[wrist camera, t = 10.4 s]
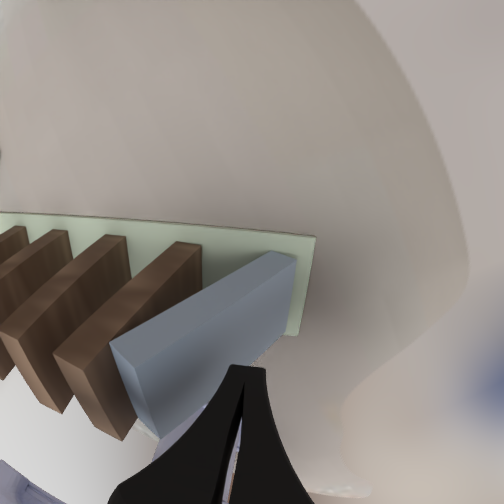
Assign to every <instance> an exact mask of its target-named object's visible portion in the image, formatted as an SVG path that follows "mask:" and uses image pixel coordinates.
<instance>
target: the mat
mask: <svg viewBox="0 0 504 504" xmlns="http://www.w3.org/2000/svg"><path fill="white" fill-rule="evenodd" d="M15 225H16V226H26V229H27V234H28V238H29V243H30V244H31V243H32V242H34V241H35V240H37V239H38V238H40V237H41V236H43V235H44V234H46V233H47V232H49V231H50V230H52V229H58V230H68V234H69V240H70V245H71V250H72V255H73V259H74V258H75V257H77V256H78V255H79V254H80V253H82V252H83V251H84V250H85V249H87V248H88V247H89V246H90V245H92V244H93V243H94V242H96V241H97V240H98V239H99V238H101V237H102V236H103V235H105V234H110V235H120V236H126V240H127V248H128V256H129V263H130V270H131V276H132V278H133V277H135V276H136V275H137V274H138V273H139V272H140V271H141V270H143V269H144V268H145V267H146V266H147V265H148V264H150V263H151V262H152V261H153V260H154V259H155V258H157V257H158V256H159V255H160V254H161V253H163V252H164V251H165V250H166V249H167V248H169V247H170V246H171V245H172V244H173V243H175V242H176V241H179V242H185V243H191V244H197V245H201V247H202V289H205V288H206V287H208V286H210V285H212V284H214V283H215V282H217V281H219V280H221V279H222V278H224V277H226V276H228V275H229V274H231V273H233V272H235V271H236V270H238V269H240V268H242V267H243V266H245V265H247V264H249V263H250V262H252V261H254V260H256V259H257V258H259V257H261V256H263V255H264V254H266V253H268V252H270V251H271V250H272V251H275V252H278V253H280V254H283V255H286V256H288V257H291V258H294V259H297V262H296V269H295V276H294V282H293V289H292V295H291V302H290V308H289V314H288V320H287V326H286V331H285V332H284V333H283V334H282V335H289V336H298V333H299V328H300V323H301V319H302V314H303V308H304V303H305V298H306V293H307V287H308V282H309V276H310V271H311V265H312V259H313V253H314V247H315V241H316V237H315V236H309V235H300V234H290V233H280V232H270V231H260V230H250V229H240V228H229V227H218V226H207V225H195V224H183V223H171V222H158V221H145V220H132V219H118V218H103V217H88V216H71V215H53V214H34V213H12V212H0V234H2V233H3V232H5V231H7V230H8V229H10V228H12V227H13V226H15Z"/></svg>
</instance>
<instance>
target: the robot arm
mask: <svg viewBox="0 0 504 504" xmlns="http://www.w3.org/2000/svg"><path fill="white" fill-rule="evenodd" d="M236 452H239V453H238V458H237V464H236V469H235V475H234V480H233V485H232V491H231V495H230V500H229V503H227V500H228V494H229V488H230V483H231V478H232V472H233V466H234V461H235V455H236ZM0 504H66V503H64V502H62V501H61V500H59V499H57V498H55V497H54V496H52V495H50V494H49V493H47V492H46V491H44V490H42V489H41V488H39V487H38V486H36V485H35V484H33V483H32V482H30V481H29V480H28V479H27V478H25V477H24V476H23V475H21V474H20V473H19V472H18V471H16V470H15V469H14V468H12V467H11V466H10V465H8V464H7V463H6V462H5V461H3V460H0ZM108 504H314V502H313V501H312V500H311V498H310V497H309V495H308V493H307V492H306V490H305V489H304V487H303V485H302V483H301V482H300V480H299V478H298V476H297V474H296V473H295V471H294V469H293V467H292V465H291V463H290V461H289V459H288V456H287V454H286V452H285V450H284V447H283V445H282V442H281V439H280V437H279V434H278V431H277V428H276V425H275V422H274V418H273V415H272V411H271V407H270V403H269V398H268V392H267V385H266V370H265V369H264V368H260V367H251V366H243V365H236V364H231V365H229V368H228V370H227V373H226V375H225V377H224V379H223V381H222V382H221V384H220V386H219V388H218V389H217V391H216V393H215V394H214V396H213V397H212V399H211V400H210V402H209V403H206V404H205V405H204V406H202V407H201V408H200V409H199V410H198V411H196V412H195V413H194V414H193V415H191V416H190V417H189V418H188V419H187V420H185V421H184V422H183V423H181V424H180V425H179V426H178V427H176V428H175V429H174V430H173V431H171V432H170V433H169V434H167V435H166V436H165V437H164V438H162V439H160V440H159V443H158V445H157V448H156V451H155V454H154V457H153V460H152V462H151V464H149V465H148V466H147V467H145V468H144V469H142V470H141V471H140V472H138V473H137V474H135V475H134V476H132V477H130V478H128V479H127V480H125V481H124V482H122V483H120V484H119V485H118V486H117V488H116V489H115V490H114V492H113V493H112V495H111V497H110V498H109V501H108Z"/></svg>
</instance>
